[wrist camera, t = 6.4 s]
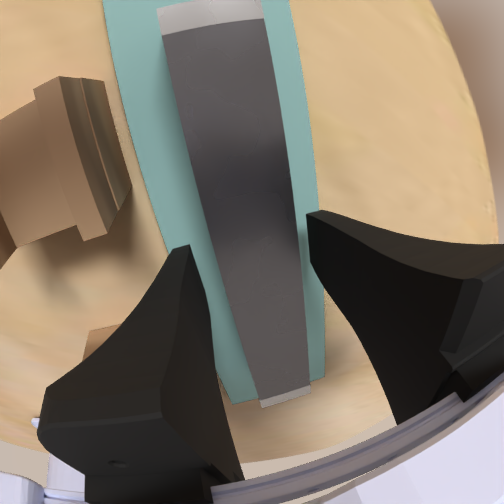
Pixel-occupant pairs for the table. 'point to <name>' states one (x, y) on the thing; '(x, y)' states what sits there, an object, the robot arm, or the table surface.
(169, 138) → the mat
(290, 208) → the rail
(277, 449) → the table surface
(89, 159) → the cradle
